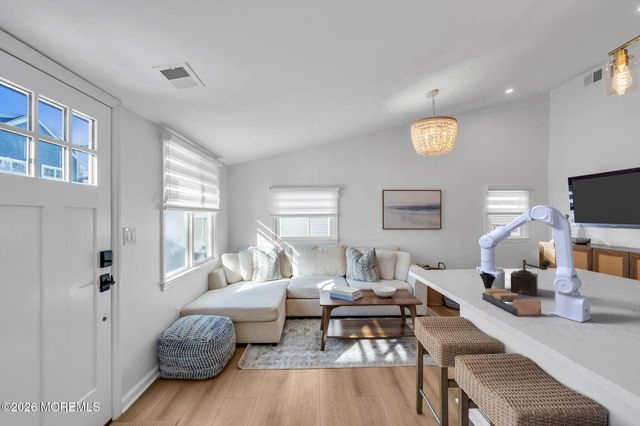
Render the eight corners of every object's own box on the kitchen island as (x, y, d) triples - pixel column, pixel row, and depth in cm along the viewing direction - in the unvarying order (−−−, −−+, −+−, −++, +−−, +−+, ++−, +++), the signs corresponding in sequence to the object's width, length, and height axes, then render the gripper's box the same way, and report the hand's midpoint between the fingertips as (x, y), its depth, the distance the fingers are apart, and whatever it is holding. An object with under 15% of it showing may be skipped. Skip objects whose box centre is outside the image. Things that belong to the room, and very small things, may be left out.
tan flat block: (485, 292, 122) (485, 288, 122) (502, 292, 122) (502, 288, 122) (500, 300, 112) (500, 295, 112) (519, 299, 112) (519, 295, 112)
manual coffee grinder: (509, 292, 132) (509, 256, 132) (513, 288, 140) (512, 254, 140) (550, 299, 121) (550, 260, 121) (551, 294, 129) (551, 257, 129)
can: (504, 294, 130) (504, 269, 130) (486, 291, 134) (486, 267, 134) (505, 290, 136) (505, 267, 135) (487, 288, 140) (487, 265, 140)
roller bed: (482, 299, 122) (482, 286, 122) (503, 298, 122) (503, 286, 122) (516, 316, 102) (516, 300, 102) (541, 315, 102) (541, 300, 102)
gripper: (470, 258, 133) (470, 285, 133) (490, 263, 118) (490, 293, 118) (484, 258, 133) (484, 284, 133) (505, 263, 119) (505, 293, 119)
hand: (488, 289), depth 126 cm, fingers closed
